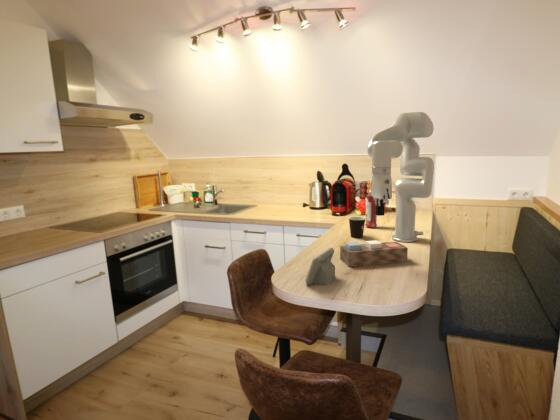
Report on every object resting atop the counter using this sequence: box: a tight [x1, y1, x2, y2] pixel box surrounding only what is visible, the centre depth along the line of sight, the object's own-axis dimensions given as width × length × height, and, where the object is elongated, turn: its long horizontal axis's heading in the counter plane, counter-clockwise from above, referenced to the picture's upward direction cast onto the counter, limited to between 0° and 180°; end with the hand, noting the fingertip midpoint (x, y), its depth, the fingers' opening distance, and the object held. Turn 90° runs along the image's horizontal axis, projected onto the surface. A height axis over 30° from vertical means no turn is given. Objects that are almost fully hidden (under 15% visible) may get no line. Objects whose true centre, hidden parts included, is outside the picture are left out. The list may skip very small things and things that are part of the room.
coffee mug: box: [348, 216, 366, 239], centre depth 194 cm, size 12×9×10 cm
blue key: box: [345, 241, 362, 251], centre depth 152 cm, size 5×5×4 cm
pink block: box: [385, 243, 401, 248], centre depth 155 cm, size 5×5×4 cm
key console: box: [339, 241, 409, 267], centre depth 154 cm, size 26×10×6 cm, turn 100°
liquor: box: [364, 179, 378, 229], centre depth 212 cm, size 7×7×28 cm
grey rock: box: [304, 247, 336, 285], centre depth 133 cm, size 16×9×11 cm, turn 139°
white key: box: [365, 239, 383, 249], centre depth 153 cm, size 5×5×4 cm
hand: (379, 215), depth 151 cm, fingers closed
